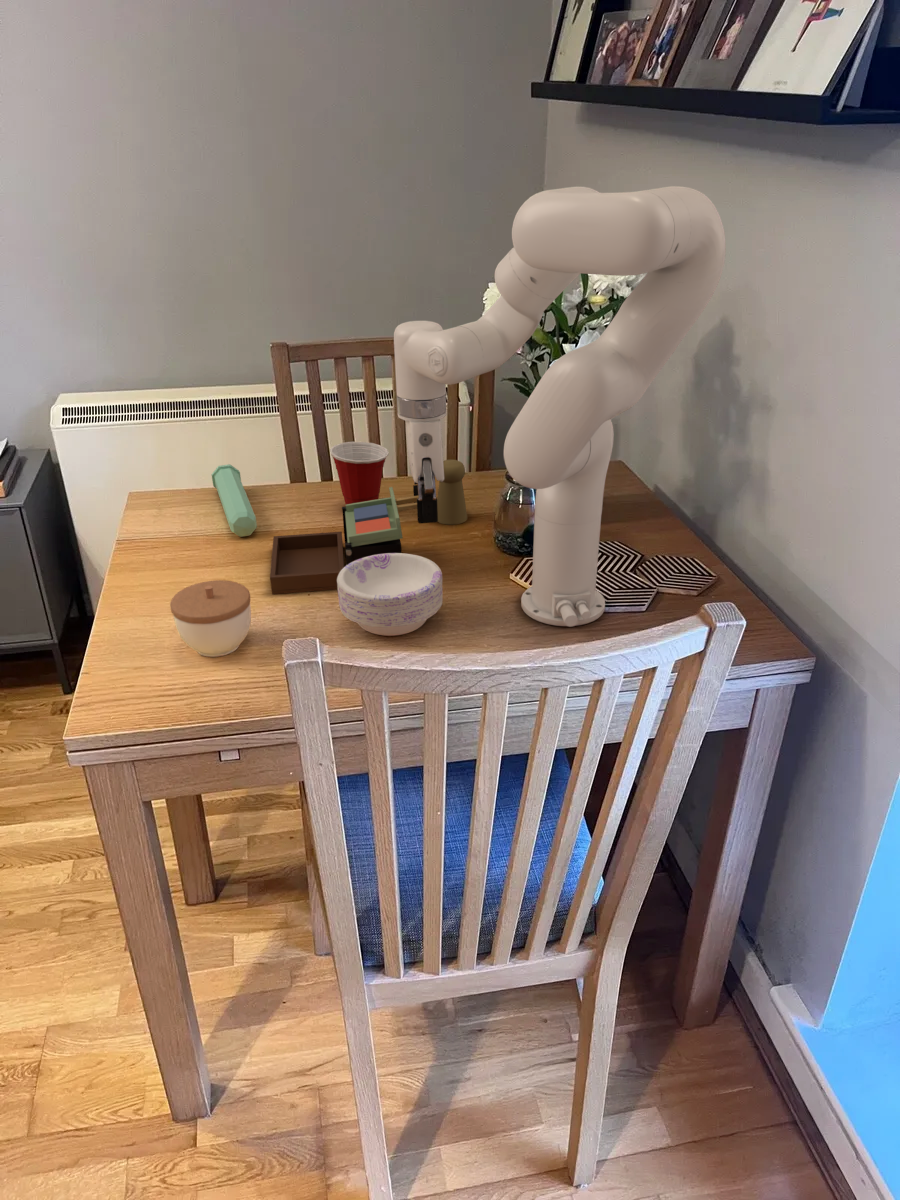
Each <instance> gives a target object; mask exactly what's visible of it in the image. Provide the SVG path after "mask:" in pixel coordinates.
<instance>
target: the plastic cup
mask: <svg viewBox="0 0 900 1200" xmlns="http://www.w3.org/2000/svg"><path fill="white" fill-rule="evenodd" d="M329 451H330V456H331V457H332V459H333V461H334V465H335V470H336V472H337V477H338V480H339V485H340V489H341V493H342V496H343V499H344V500H343V501H344V504H345V505H346V504H352V503H358V502H364V501H370V500H377V499H380V498H379V497H380V492H381V486H382V478H383V470H384V467H385V462H386V459H387V457H388V456H389V449H387V448H386V447H384V446H383V445H380V444H377V443H374V442H368V441H346V442H341V443H338V444H334V445H333V446H332V447H330V449H329Z"/></svg>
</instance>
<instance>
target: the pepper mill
mask: <svg viewBox="0 0 900 1200" xmlns="http://www.w3.org/2000/svg"><path fill="white" fill-rule="evenodd" d="M443 465H444V480H443V481H442V482H440V481H438V489H437V497H436V498H437V511H438V521H437V522H436V523H439V524H443V525H449V526H450V525H459V524H462V523H464V522H466V521H467V520H468V511H467V506H466V505H467V504H466V499H465V492H464V485H463V484H464V483H463V478H464V477H465V475H466V467H465V465H464V463H463V462H462V461H460V460H458V459H445V460H444V459H443Z"/></svg>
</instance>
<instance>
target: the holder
mask: <svg viewBox="0 0 900 1200" xmlns="http://www.w3.org/2000/svg"><path fill="white" fill-rule="evenodd" d="M272 540H273V541H272V549H271V550H272V551H271V561H270V562H271V563H270V571H269V572H270V573H269V581H270V589H271V595H281V594H295V593H296V594H297V593H309V592H320V591H333V590H334V591H335V590H338V588H337V587H338V585H337V577H338V574H339V573H340V571H341V570H342V569H343V568H344V567H345V556H344V544H343V533H342V531H331V532H315V533H301V534H287V535H274V536H273V539H272Z"/></svg>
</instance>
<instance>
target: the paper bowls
mask: <svg viewBox="0 0 900 1200" xmlns="http://www.w3.org/2000/svg"><path fill="white" fill-rule="evenodd" d="M337 585H338V587H337V588H338V589H337V597H338V607H339V610H340V612H341V614H342V615H343V616H344V617H345V618H346V619H348V620H349V621H351V622H354V623H357V625H358V626H359V627H360V628H362V630H364V631H366V632H368V633H371V634H374V635H377V636H388V637H391V636H393V637H394V636H401V635H405V634H409V633H412V632H414V631H416V630H418V629H420V628H421V627H423V625H424V624H425V623H426V622H427V620H428V619H430V618H432V617H433V616H434V615H435V614H437V613H438V612H439V610H440V609H441V608H442V606H443V601H444V600H443V597H444V596H443V595H444V593H443V573H442V570H441V568H440V567H439V565H438V564H437V563H435V561H432V560H431V559H429V558H427V557H424V556H421V555H417V554H412V553H404V552H403V553H402V552H401V553H385V554H377V555H372V556H367V557H364V558H361V559H358V560H355V561H353V562H351V563H349V564H348V565H347V564H346V565H344V568H343V569H342V570H341V571H340V573H339V574H338V577H337Z"/></svg>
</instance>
